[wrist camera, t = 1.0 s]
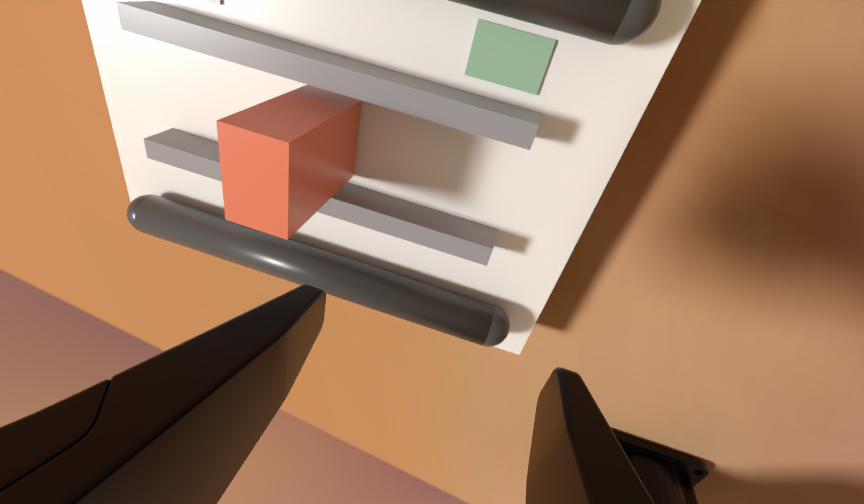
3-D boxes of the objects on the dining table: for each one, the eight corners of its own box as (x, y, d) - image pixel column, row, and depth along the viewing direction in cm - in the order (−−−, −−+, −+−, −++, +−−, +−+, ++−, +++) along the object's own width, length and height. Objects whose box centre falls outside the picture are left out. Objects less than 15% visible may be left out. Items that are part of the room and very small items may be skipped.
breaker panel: (703, -57, 12) (767, -76, 9) (521, 319, 21) (516, 385, 18) (102, -208, 14) (-54, -277, 10) (173, 206, 23) (105, 246, 19)
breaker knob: (362, 99, 14) (289, 142, 10) (353, 176, 16) (287, 239, 12) (309, 83, 14) (216, 120, 10) (306, 161, 16) (225, 219, 12)
